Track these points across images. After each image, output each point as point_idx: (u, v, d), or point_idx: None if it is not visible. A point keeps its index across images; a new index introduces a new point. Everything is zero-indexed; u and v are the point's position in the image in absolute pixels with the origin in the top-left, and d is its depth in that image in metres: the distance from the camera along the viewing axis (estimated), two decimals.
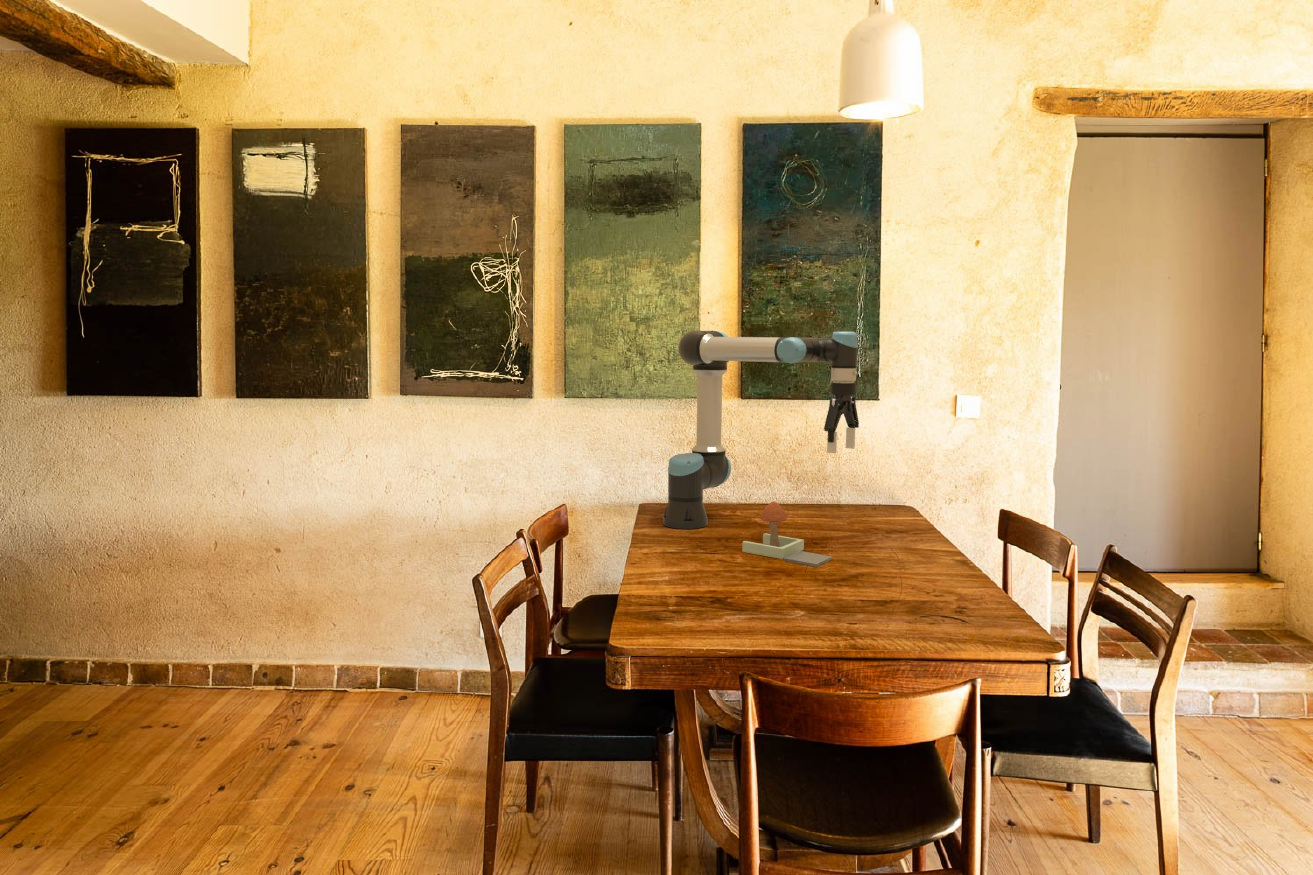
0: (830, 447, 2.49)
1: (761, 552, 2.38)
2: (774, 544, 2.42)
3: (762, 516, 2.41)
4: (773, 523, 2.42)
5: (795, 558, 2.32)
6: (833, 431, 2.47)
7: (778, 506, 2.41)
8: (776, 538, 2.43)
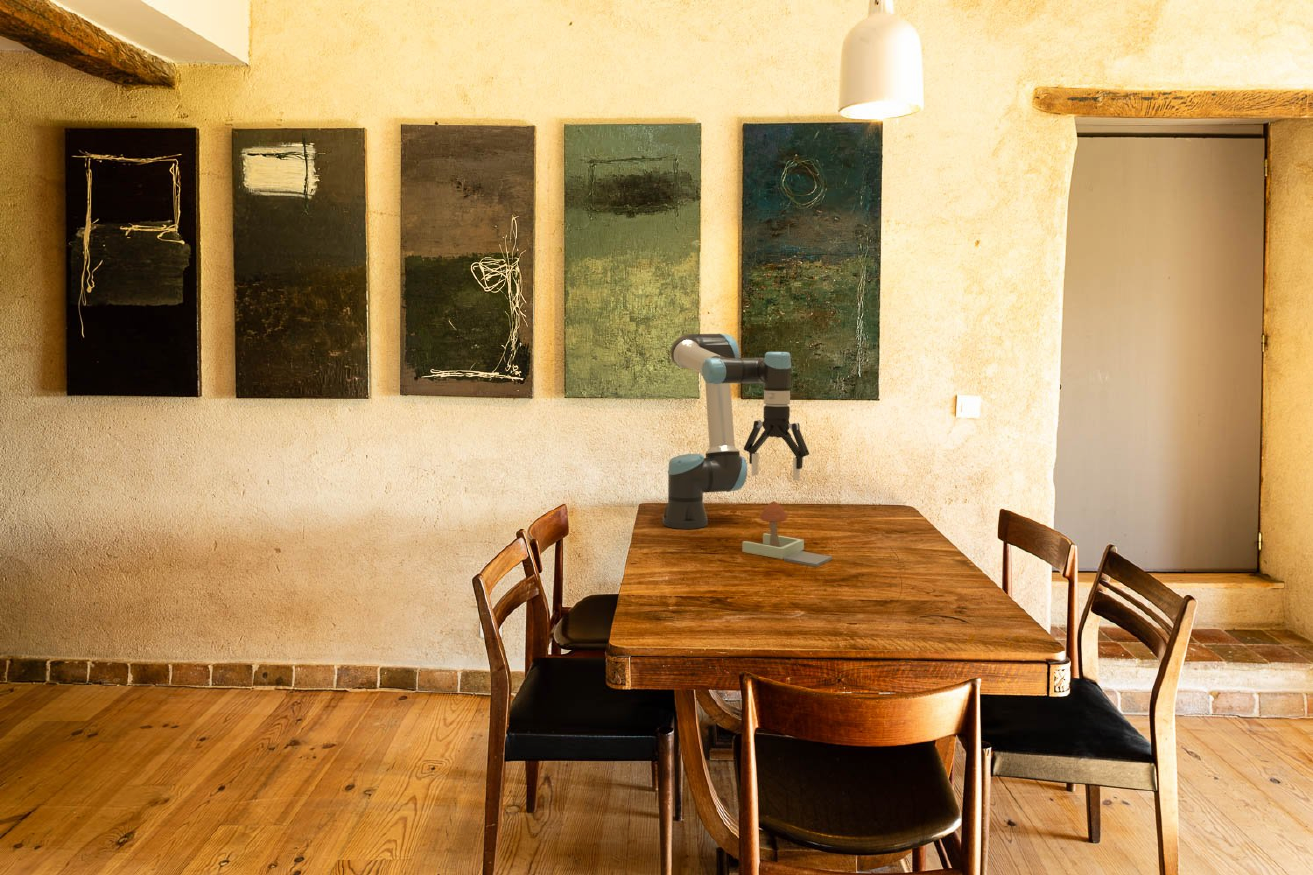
0: None
1: (761, 552, 2.38)
2: (774, 544, 2.42)
3: (762, 516, 2.41)
4: (773, 523, 2.42)
5: (795, 558, 2.32)
6: (749, 452, 2.44)
7: (778, 506, 2.41)
8: (776, 538, 2.43)
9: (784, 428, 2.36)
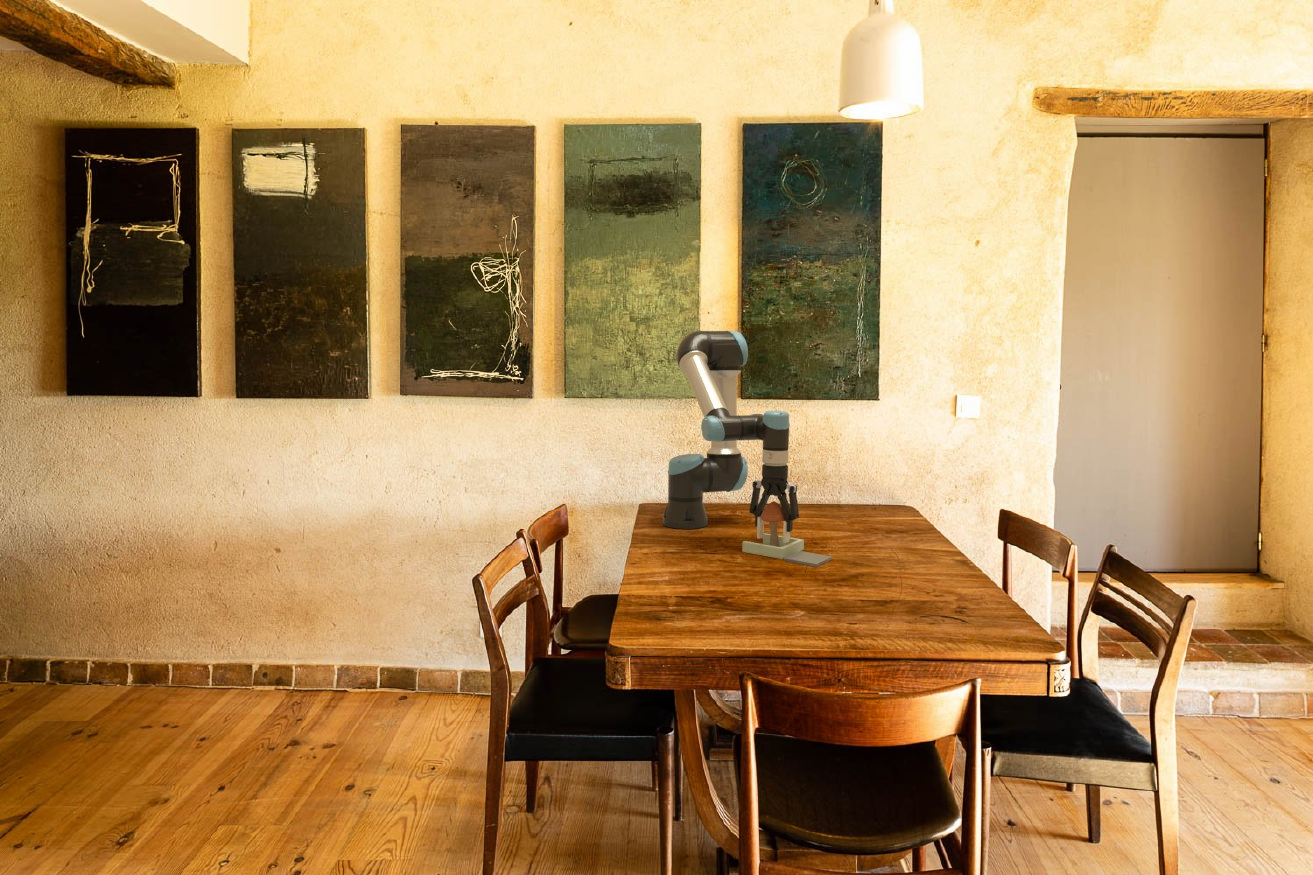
0: None
1: (761, 552, 2.38)
2: (774, 544, 2.42)
3: (762, 516, 2.41)
4: (773, 523, 2.42)
5: (795, 558, 2.32)
6: (755, 515, 2.45)
7: (778, 506, 2.41)
8: (776, 538, 2.43)
9: (782, 487, 2.39)
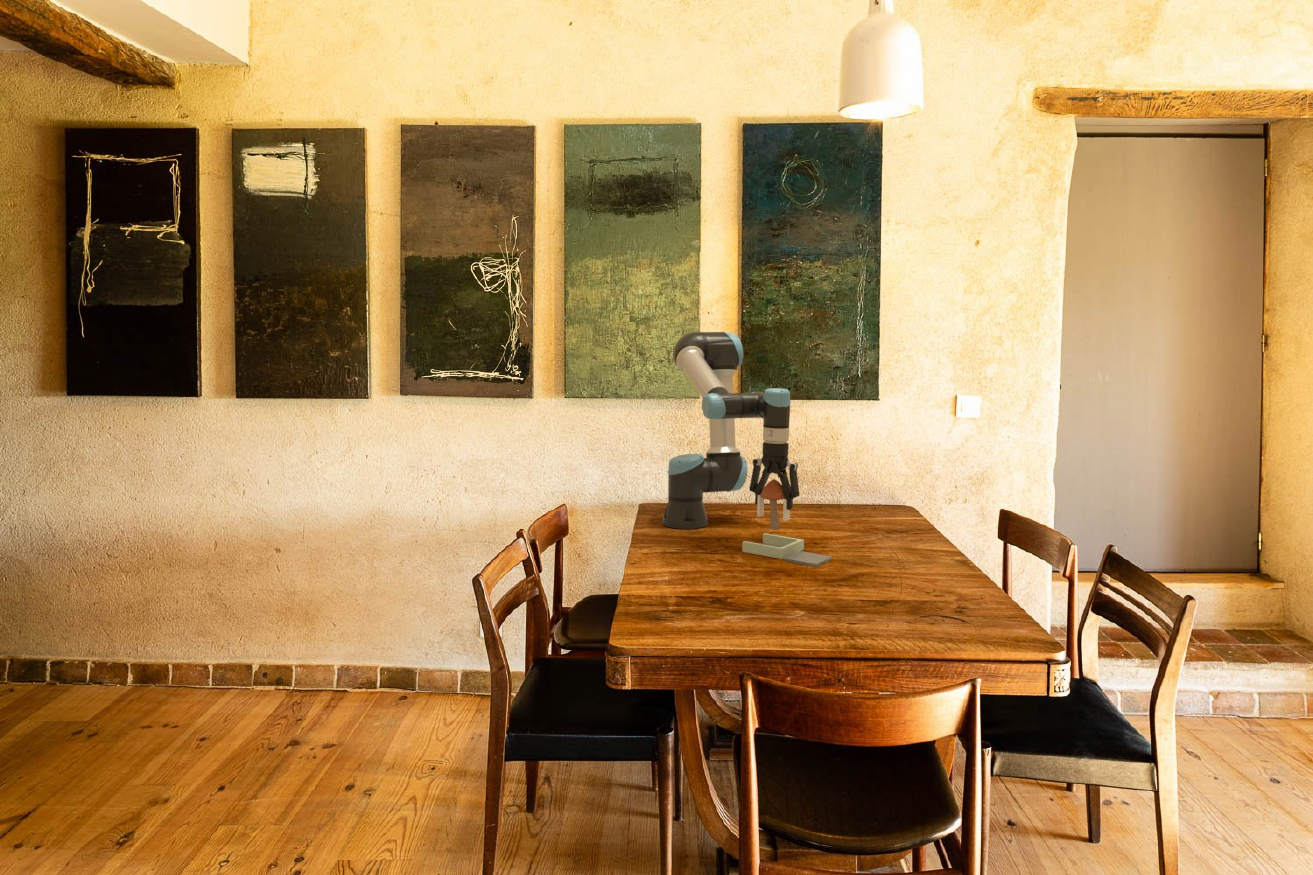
0: None
1: (761, 552, 2.38)
2: (774, 522, 2.42)
3: (762, 494, 2.41)
4: (773, 501, 2.41)
5: (795, 558, 2.32)
6: (755, 493, 2.45)
7: (778, 484, 2.40)
8: (776, 516, 2.42)
9: (782, 465, 2.38)
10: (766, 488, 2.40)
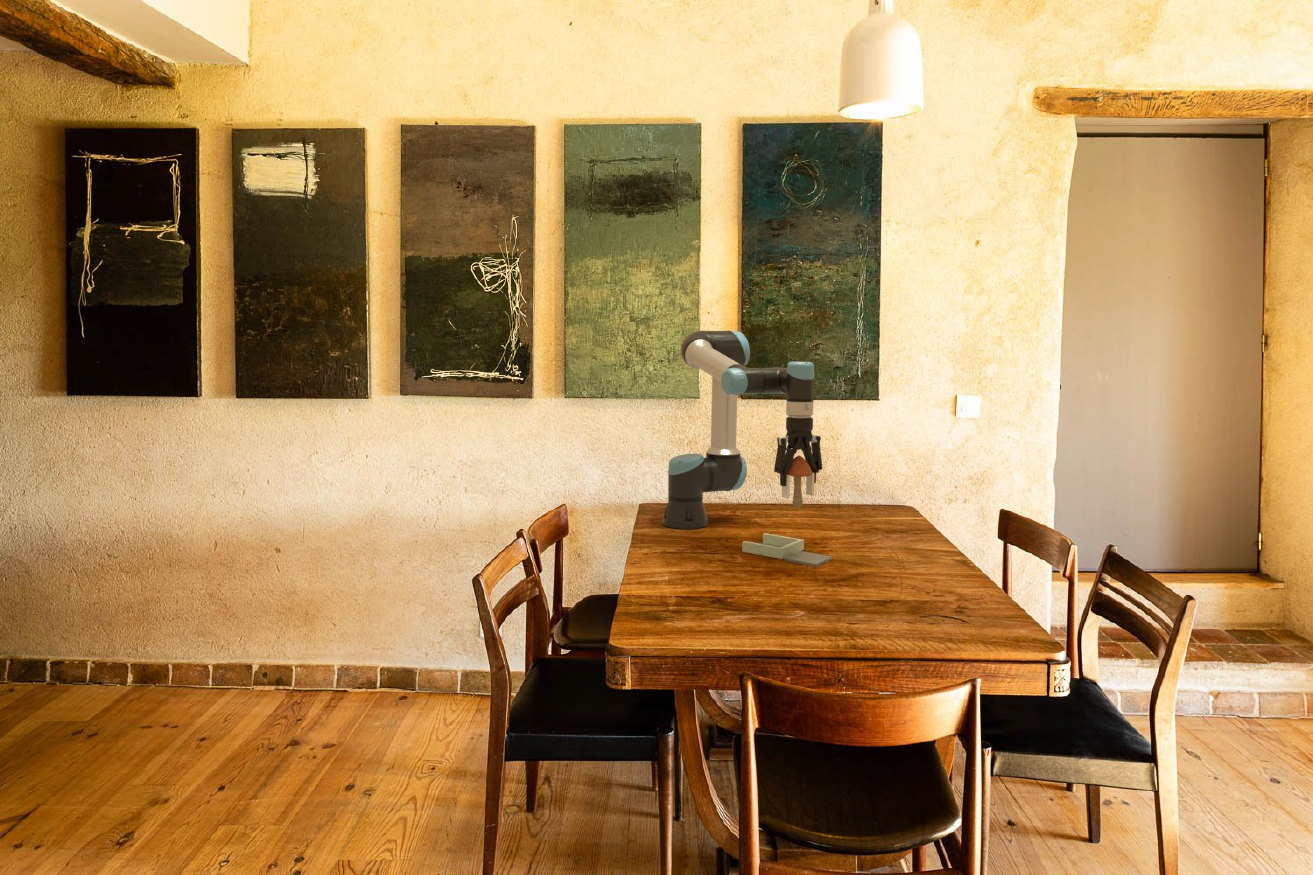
0: (784, 491, 2.33)
1: (761, 552, 2.38)
2: (801, 499, 2.35)
3: (799, 472, 2.30)
4: None
5: (795, 558, 2.32)
6: (784, 474, 2.31)
7: None
8: (801, 493, 2.35)
9: (810, 439, 2.33)
10: (800, 465, 2.31)
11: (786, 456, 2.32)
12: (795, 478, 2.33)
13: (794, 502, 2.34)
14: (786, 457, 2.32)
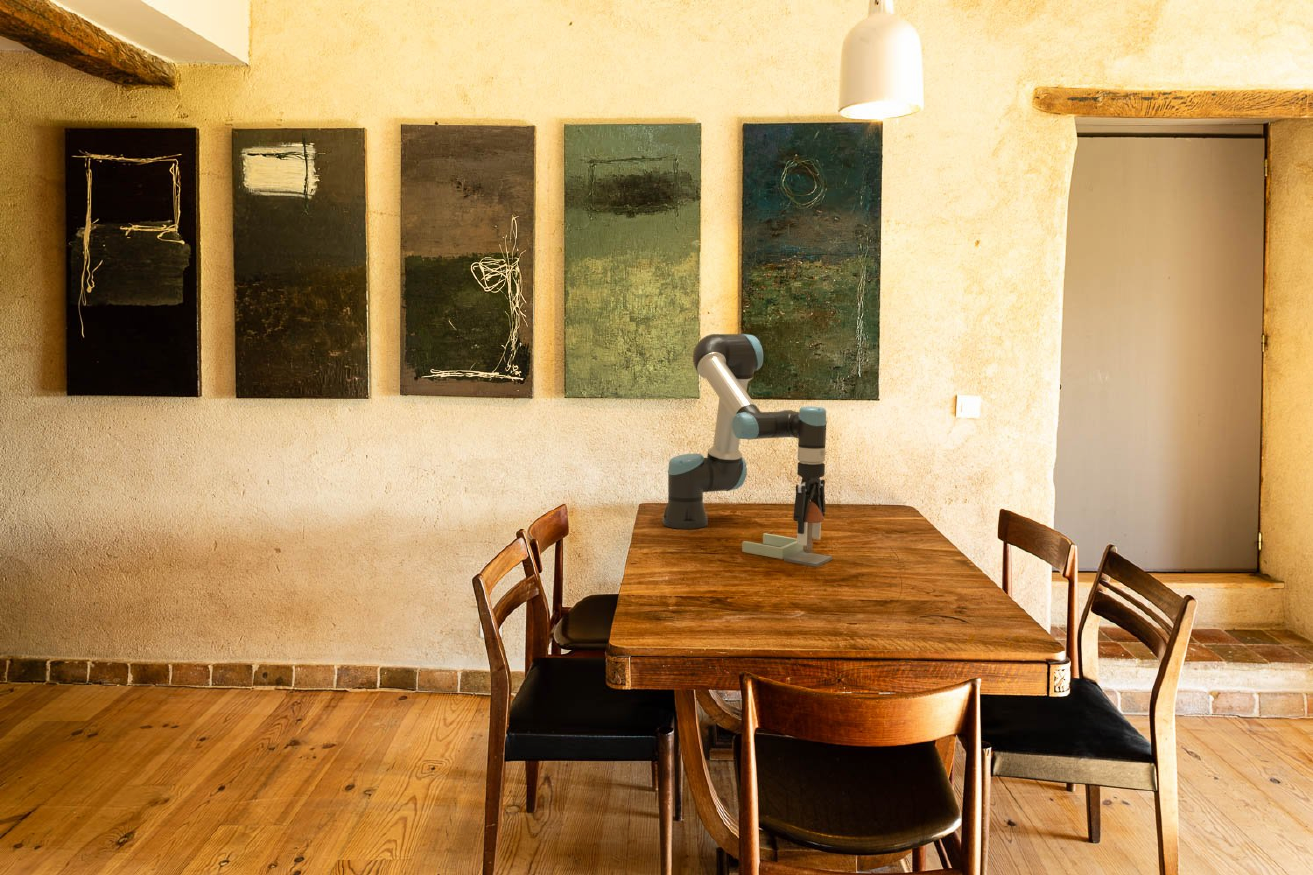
0: (800, 538, 2.29)
1: (761, 552, 2.38)
2: (812, 545, 2.33)
3: (816, 518, 2.29)
4: (812, 523, 2.32)
5: (795, 558, 2.32)
6: (803, 522, 2.27)
7: None
8: None
9: None
10: (816, 511, 2.30)
11: None
12: (808, 524, 2.31)
13: (806, 548, 2.32)
14: None
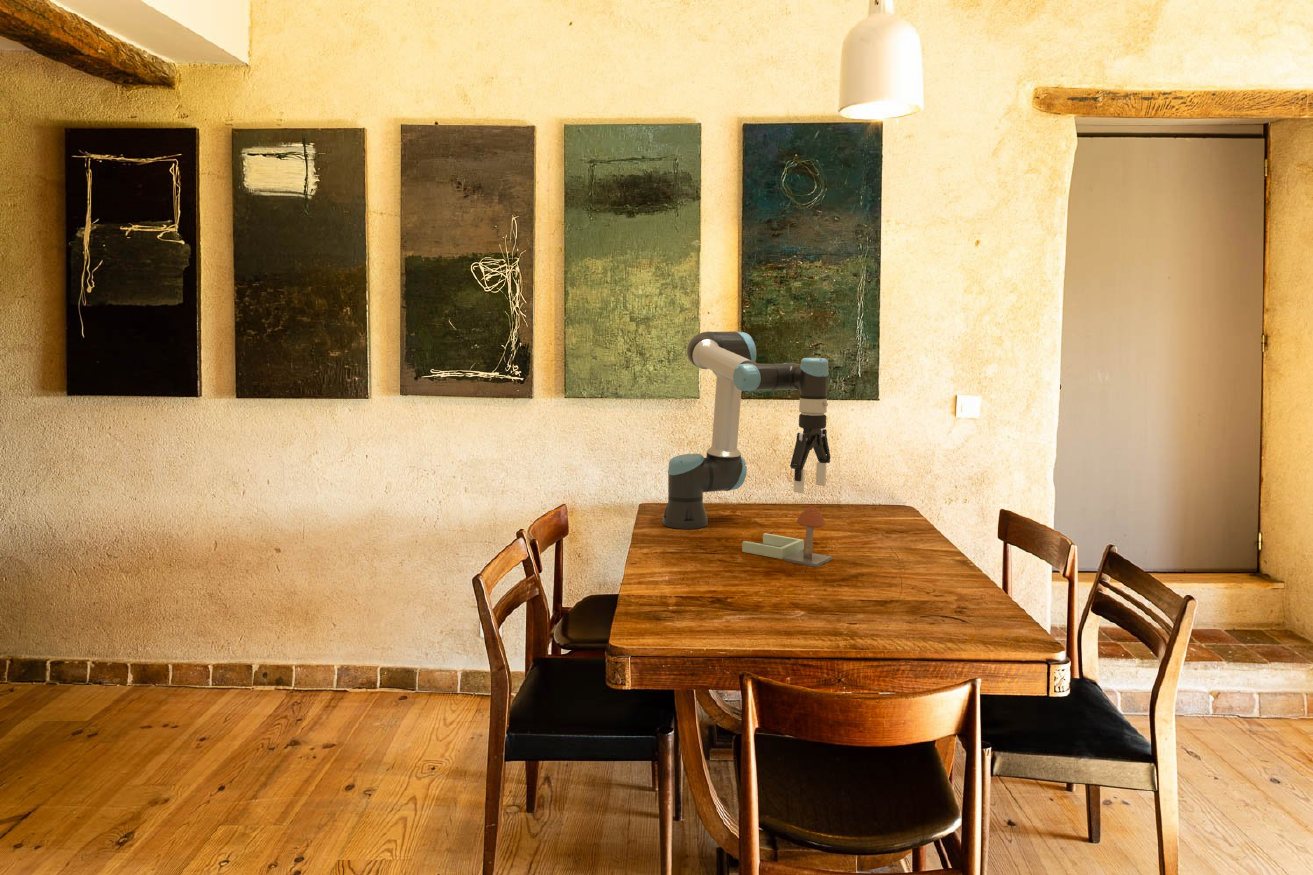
0: (797, 486, 2.26)
1: (761, 552, 2.38)
2: (812, 549, 2.34)
3: (817, 523, 2.29)
4: (813, 528, 2.33)
5: (795, 558, 2.32)
6: (800, 469, 2.23)
7: None
8: None
9: None
10: (818, 516, 2.30)
11: None
12: (809, 528, 2.32)
13: (807, 552, 2.33)
14: None
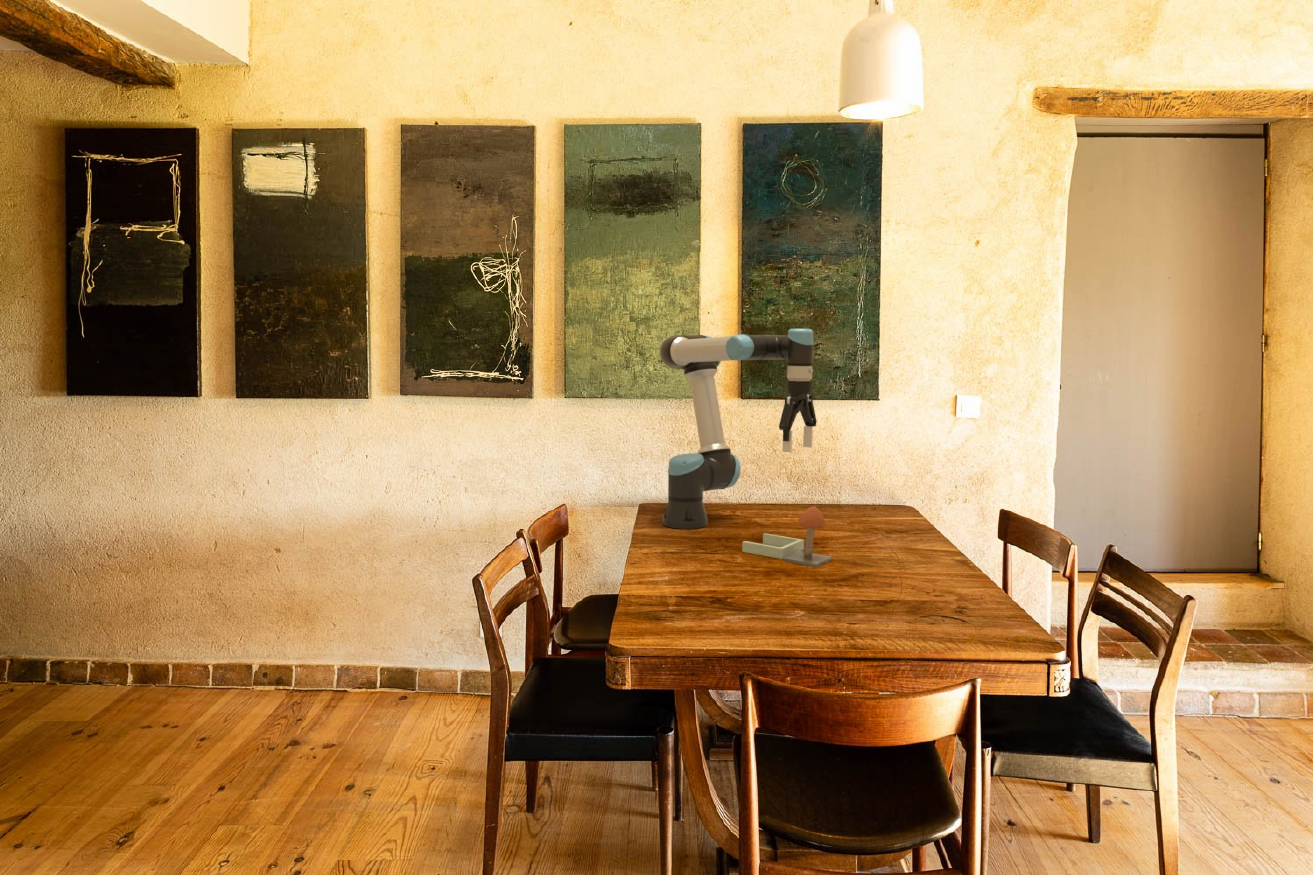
0: (785, 446, 2.46)
1: (761, 552, 2.38)
2: (812, 549, 2.34)
3: (818, 524, 2.29)
4: (814, 528, 2.32)
5: (795, 558, 2.32)
6: (788, 430, 2.44)
7: None
8: None
9: None
10: (819, 517, 2.30)
11: None
12: (810, 529, 2.31)
13: (807, 552, 2.33)
14: None
